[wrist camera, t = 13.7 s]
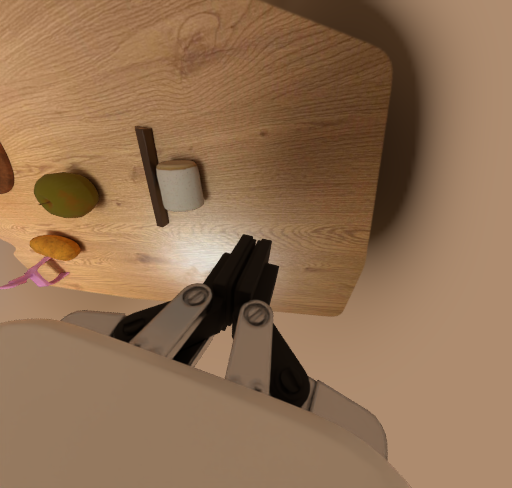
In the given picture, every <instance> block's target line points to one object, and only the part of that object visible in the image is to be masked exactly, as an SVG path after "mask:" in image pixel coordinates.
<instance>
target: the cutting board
mask: <svg viewBox="0 0 512 488" xmlns="http://www.w3.org/2000/svg"><path fill="white" fill-rule="evenodd" d="M13 184H14V176H13V171H12V167H11V164H10V162H9V159H8V157H7V155H6V153H5V151H4V149H3V147H2V145H1V143H0V194H3V193H6V192H9V191H10V190H11V189H12V187H13Z"/></svg>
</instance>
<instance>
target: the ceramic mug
mask: <svg viewBox="0 0 512 488" xmlns="http://www.w3.org/2000/svg"><path fill="white" fill-rule="evenodd" d="M156 171H157V178H158V182H159V186H160V191H161V196H162V201H163V205H164V208H165V209H166V210H168V211H173V212H186V211H190V210H195V209H197V208H199V207H201V206H202V205H203V204H204V198H203V193H202V187H201V181H200V175H199V170H198V167H197V165H196V163H195V162H193V161H190V160H171V161H164V162H161V163H159V164H158V165H157V168H156Z"/></svg>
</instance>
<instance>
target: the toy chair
mask: <svg viewBox="0 0 512 488" xmlns="http://www.w3.org/2000/svg"><path fill="white" fill-rule="evenodd" d="M49 259H50V257H44V258H43V259H42V260H41V261H40V262H39V263H37V264H36V265H35V266H33V267H31V268H30V269H29V270H28V271H27V272H26V273H24V274H25V275H23V276H21V277H19V278H16V279H14V280H12V281H9V283H10V284H7V285H4V286H2V287H0V289H7V288H12V287H15V286H17V285H20V284H23V283H26V282H27V279H28V278H30V279H31V280H32V281H33V282H34V283H35V284H36V285H37V286H39V287H42V286H49V285H51V284H55V283H57V282H58V281H60V280H61V279H62V278H64V277H65V276H66V275H68V274H69V272H66V273H60V274H59V275H58V277H57V278H56V279H54V280H53V281H51V282H48V281H46V280H45V279H44V278H43V277H42V276H41V275H40V274H39V273H38V271H37V269H38V268H39V267H40V266H41V265H42V264H44V263H45V262H46V261H48V260H49Z"/></svg>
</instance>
